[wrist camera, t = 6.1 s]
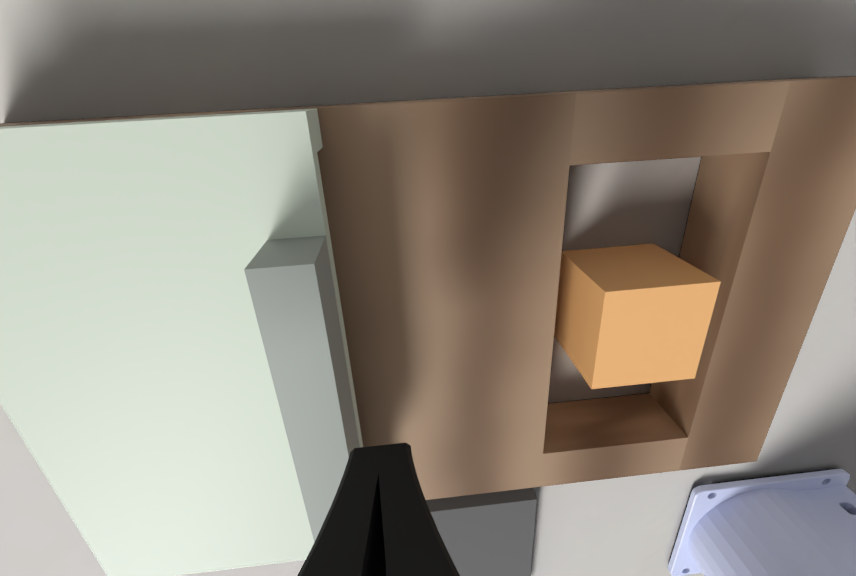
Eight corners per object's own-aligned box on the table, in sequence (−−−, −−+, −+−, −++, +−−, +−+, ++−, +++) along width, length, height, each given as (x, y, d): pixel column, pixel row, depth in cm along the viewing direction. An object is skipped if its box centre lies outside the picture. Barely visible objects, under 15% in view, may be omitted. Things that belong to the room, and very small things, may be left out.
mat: (531, 483, 23) (537, 499, 22) (523, 582, 27) (528, 599, 26) (366, 502, 22) (365, 519, 22) (382, 600, 26) (382, 618, 25)
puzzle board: (815, 77, 15) (908, 74, 13) (711, 415, 22) (756, 461, 19) (2, 123, 14) (-93, 131, 11) (161, 476, 20) (127, 535, 18)
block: (652, 242, 18) (720, 281, 14) (637, 325, 19) (695, 378, 16) (559, 250, 17) (605, 292, 14) (552, 333, 19) (591, 389, 16)
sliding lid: (317, 108, 11) (288, 115, 8) (377, 510, 18) (375, 607, 15) (-81, 131, 11) (-299, 150, 7) (137, 538, 18) (77, 647, 14)
